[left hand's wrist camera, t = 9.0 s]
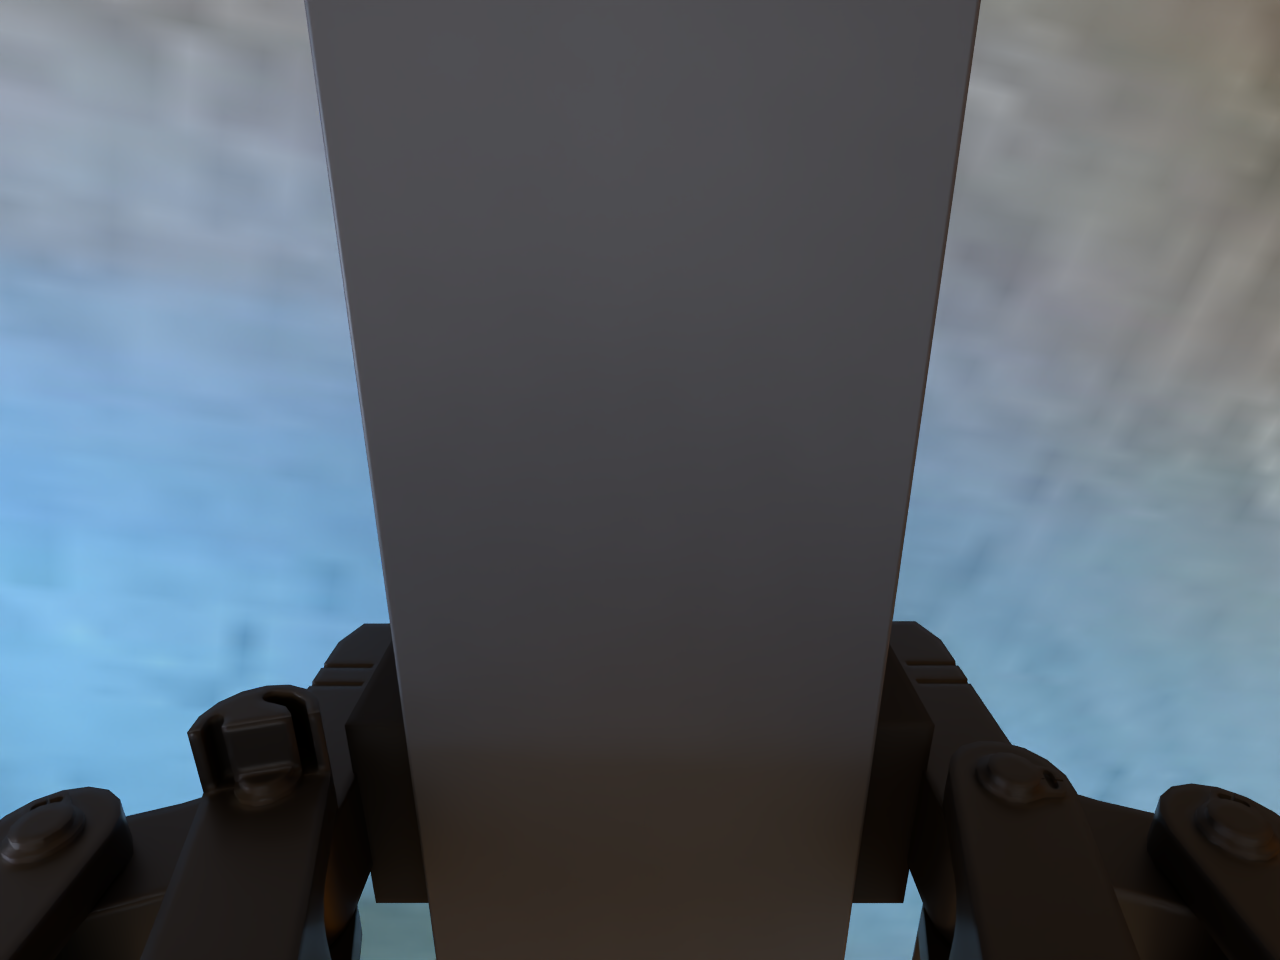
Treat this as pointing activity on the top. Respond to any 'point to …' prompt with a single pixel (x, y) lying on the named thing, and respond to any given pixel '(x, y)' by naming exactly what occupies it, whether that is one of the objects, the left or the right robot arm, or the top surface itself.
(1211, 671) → the top surface
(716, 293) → the post
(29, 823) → the left robot arm
